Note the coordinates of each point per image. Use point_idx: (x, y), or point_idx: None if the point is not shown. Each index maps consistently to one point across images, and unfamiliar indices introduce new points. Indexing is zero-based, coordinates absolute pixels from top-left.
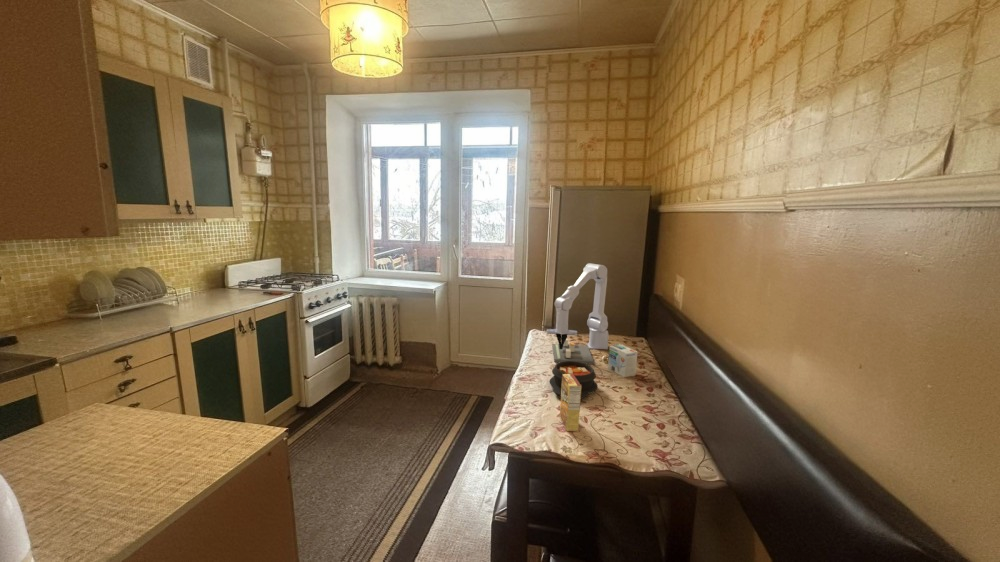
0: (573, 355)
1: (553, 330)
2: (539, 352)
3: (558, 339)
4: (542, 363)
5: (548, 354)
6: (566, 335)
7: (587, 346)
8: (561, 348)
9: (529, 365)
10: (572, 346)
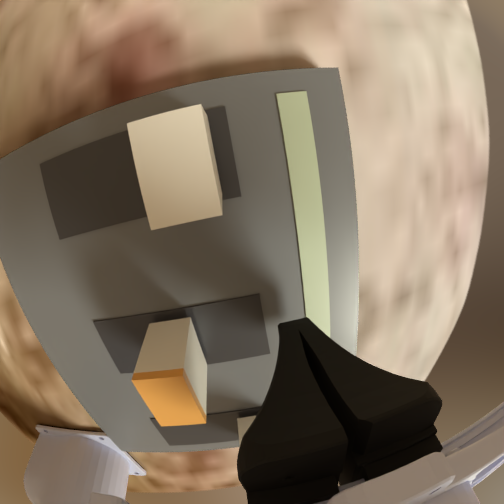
0: (140, 248)
1: (489, 468)
2: (437, 277)
3: (384, 379)
4: (409, 41)
5: (384, 261)
6: (258, 490)
7: (112, 440)
8: (290, 324)
9: (462, 16)
10: (158, 363)
